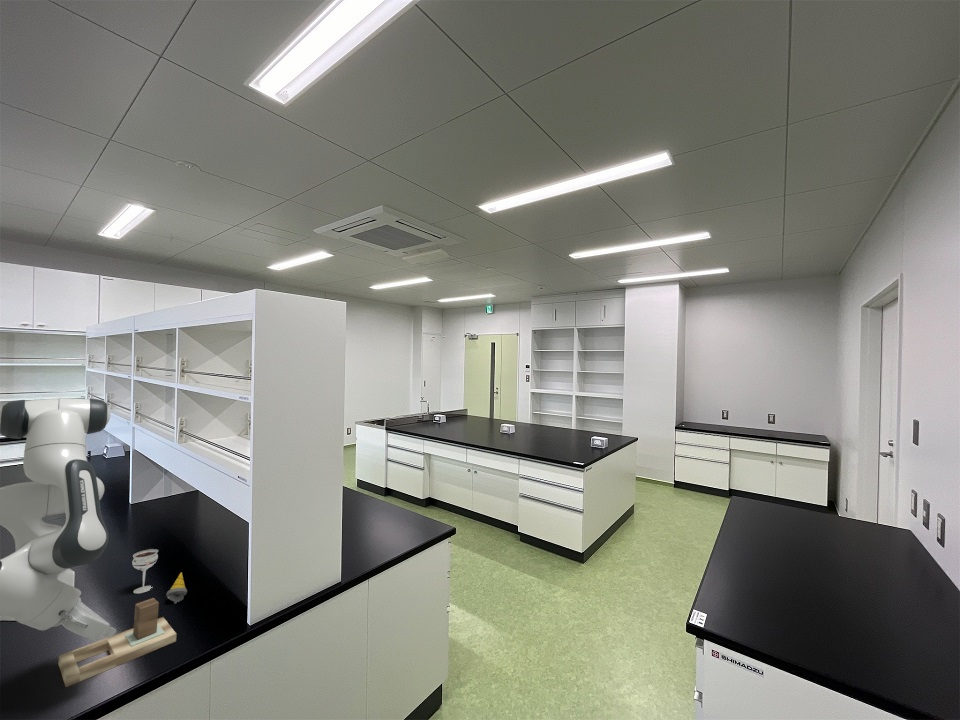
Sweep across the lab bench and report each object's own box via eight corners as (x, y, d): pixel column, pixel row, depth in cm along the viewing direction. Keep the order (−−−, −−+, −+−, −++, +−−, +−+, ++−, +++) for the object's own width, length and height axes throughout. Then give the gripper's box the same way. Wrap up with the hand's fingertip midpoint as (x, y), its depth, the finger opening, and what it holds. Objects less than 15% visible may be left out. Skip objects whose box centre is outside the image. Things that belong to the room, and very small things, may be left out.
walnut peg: (133, 634, 106) (135, 604, 107) (151, 627, 110) (153, 597, 110) (138, 640, 104) (140, 609, 105) (156, 632, 107) (158, 602, 108)
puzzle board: (58, 663, 98) (59, 654, 98) (162, 624, 115) (163, 616, 115) (65, 687, 91) (66, 677, 91) (176, 641, 107) (176, 632, 108)
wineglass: (144, 583, 137) (147, 548, 137) (161, 585, 136) (163, 550, 136) (124, 593, 130) (127, 556, 131) (141, 595, 129) (144, 558, 130)
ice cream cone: (160, 607, 124) (167, 574, 131) (178, 608, 127) (184, 576, 134) (170, 599, 122) (177, 567, 129) (188, 600, 126) (194, 569, 133)
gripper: (84, 605, 89) (134, 626, 97) (53, 581, 99) (101, 602, 107) (54, 636, 85) (109, 656, 93) (25, 608, 94) (77, 628, 102)
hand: (105, 627), depth 100 cm, fingers open, 8 cm apart
